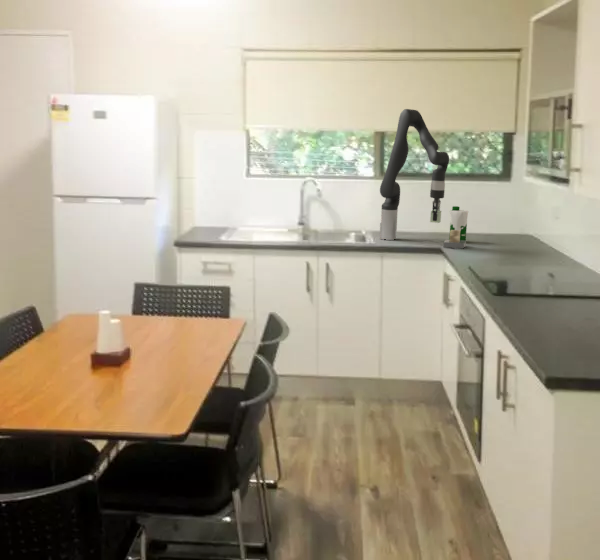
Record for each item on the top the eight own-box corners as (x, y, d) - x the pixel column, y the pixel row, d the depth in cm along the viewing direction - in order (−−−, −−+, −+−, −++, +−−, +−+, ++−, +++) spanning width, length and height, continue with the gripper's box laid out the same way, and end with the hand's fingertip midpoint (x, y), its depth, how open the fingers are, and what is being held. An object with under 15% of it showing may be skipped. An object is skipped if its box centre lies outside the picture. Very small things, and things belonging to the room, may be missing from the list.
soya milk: (453, 240, 489) (455, 205, 485) (468, 241, 484) (470, 207, 480) (446, 241, 482) (448, 206, 478) (461, 243, 477) (463, 208, 473)
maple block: (449, 241, 462) (450, 230, 461) (450, 240, 466) (451, 229, 465) (458, 242, 460) (459, 231, 459) (459, 241, 465) (460, 230, 464)
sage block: (430, 222, 459) (430, 211, 457) (431, 221, 463) (432, 210, 462) (439, 222, 457) (440, 211, 456) (440, 221, 462) (441, 210, 461)
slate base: (443, 247, 460) (443, 242, 460) (445, 244, 471) (446, 239, 470) (463, 248, 457) (464, 243, 457) (465, 246, 468) (465, 240, 467)
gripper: (442, 190, 449) (440, 222, 452) (446, 188, 462) (443, 219, 466) (428, 189, 451) (426, 221, 454) (432, 187, 464) (430, 218, 468)
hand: (435, 220), depth 460 cm, fingers closed on sage block, 5 cm apart
